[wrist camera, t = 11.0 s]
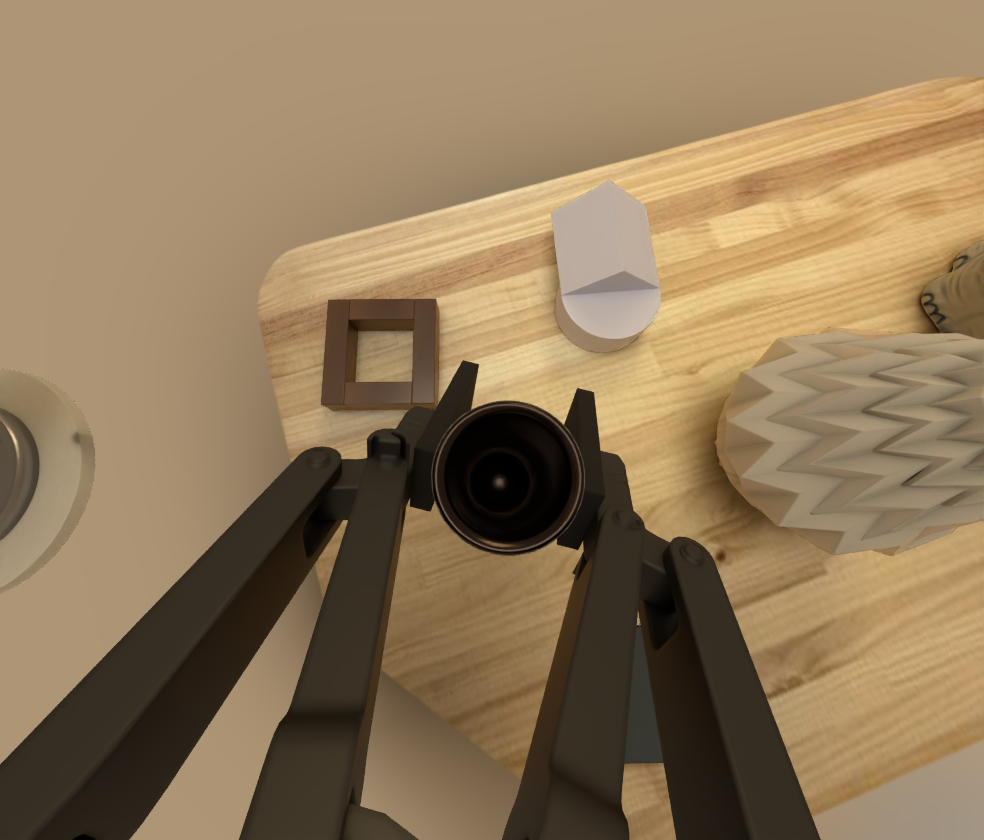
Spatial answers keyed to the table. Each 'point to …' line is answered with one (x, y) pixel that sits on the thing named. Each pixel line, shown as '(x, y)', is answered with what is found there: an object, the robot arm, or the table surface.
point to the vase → (860, 437)
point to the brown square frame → (343, 347)
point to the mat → (642, 712)
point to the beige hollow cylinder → (508, 478)
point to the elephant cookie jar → (959, 295)
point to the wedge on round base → (604, 269)
